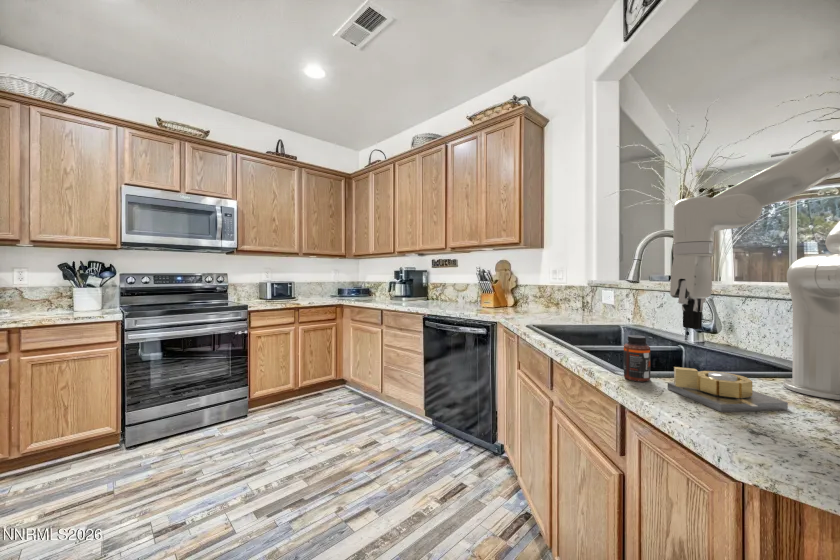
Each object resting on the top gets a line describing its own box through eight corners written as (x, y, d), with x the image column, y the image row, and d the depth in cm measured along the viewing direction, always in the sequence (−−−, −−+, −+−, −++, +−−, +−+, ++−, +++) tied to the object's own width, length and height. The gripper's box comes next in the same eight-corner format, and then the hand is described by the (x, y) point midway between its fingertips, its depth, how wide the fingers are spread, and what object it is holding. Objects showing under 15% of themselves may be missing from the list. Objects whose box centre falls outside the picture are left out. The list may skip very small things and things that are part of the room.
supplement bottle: (654, 383, 87) (654, 338, 87) (628, 382, 89) (628, 337, 88) (644, 376, 93) (644, 334, 93) (620, 375, 94) (620, 334, 94)
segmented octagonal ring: (741, 387, 78) (741, 369, 78) (758, 400, 70) (758, 380, 70) (671, 379, 84) (671, 363, 84) (679, 390, 76) (678, 372, 76)
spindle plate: (723, 387, 84) (723, 365, 84) (796, 412, 68) (796, 386, 68) (667, 388, 83) (667, 367, 83) (727, 414, 68) (727, 388, 67)
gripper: (689, 252, 89) (688, 323, 89) (658, 250, 82) (658, 328, 82) (726, 250, 83) (725, 327, 83) (696, 248, 75) (696, 333, 76)
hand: (692, 327), depth 82 cm, fingers closed
